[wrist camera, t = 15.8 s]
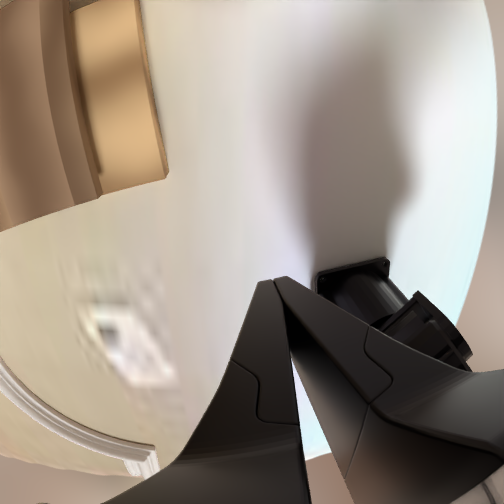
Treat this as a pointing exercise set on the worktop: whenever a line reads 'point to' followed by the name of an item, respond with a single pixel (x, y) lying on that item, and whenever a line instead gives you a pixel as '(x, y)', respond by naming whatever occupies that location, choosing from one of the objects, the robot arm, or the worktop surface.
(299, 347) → the robot arm
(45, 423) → the molding
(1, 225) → the laid planks
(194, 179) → the worktop surface
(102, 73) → the oak plank
